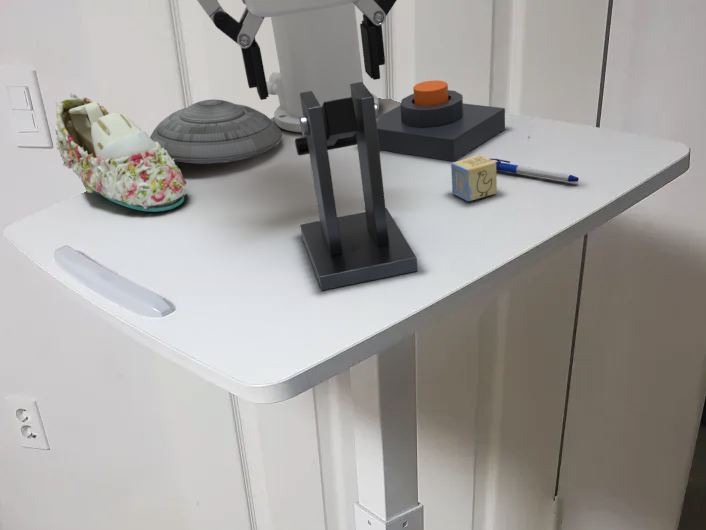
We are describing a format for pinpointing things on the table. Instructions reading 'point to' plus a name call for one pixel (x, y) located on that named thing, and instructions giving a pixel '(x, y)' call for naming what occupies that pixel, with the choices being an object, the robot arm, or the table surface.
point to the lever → (335, 126)
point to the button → (430, 93)
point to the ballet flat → (116, 157)
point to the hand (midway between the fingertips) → (318, 85)
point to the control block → (438, 127)
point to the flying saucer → (216, 133)
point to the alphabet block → (474, 178)
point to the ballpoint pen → (533, 171)
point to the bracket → (356, 229)
